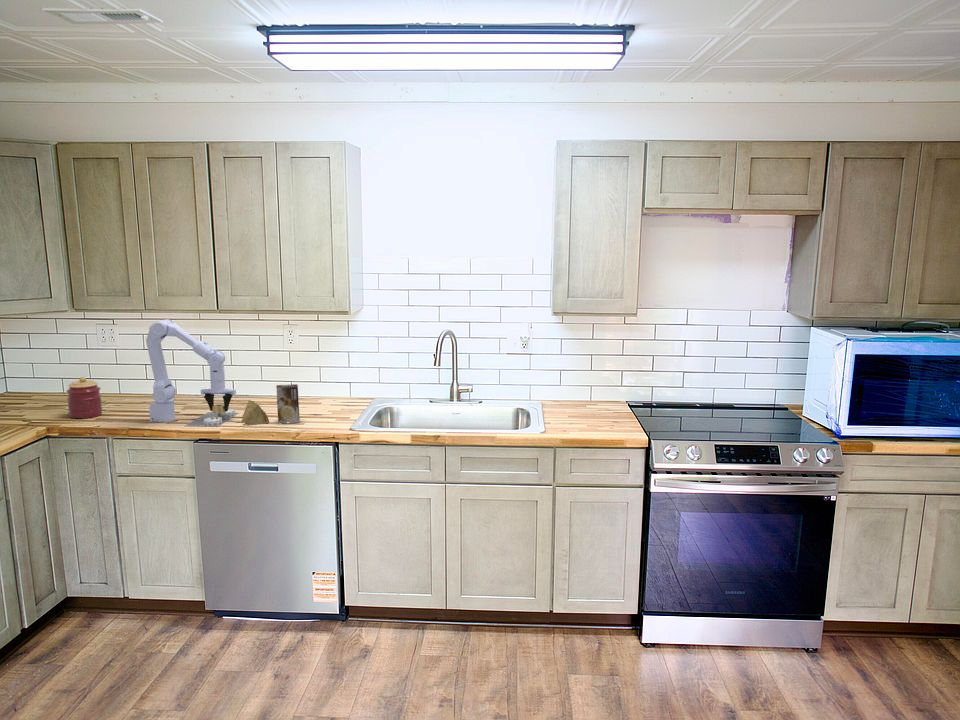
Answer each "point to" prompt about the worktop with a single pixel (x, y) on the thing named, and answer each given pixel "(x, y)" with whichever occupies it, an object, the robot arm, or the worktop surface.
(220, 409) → the brass gear
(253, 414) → the rock
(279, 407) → the coffee box
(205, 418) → the gear board
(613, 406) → the worktop surface
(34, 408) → the worktop surface
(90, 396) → the canister
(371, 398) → the worktop surface
